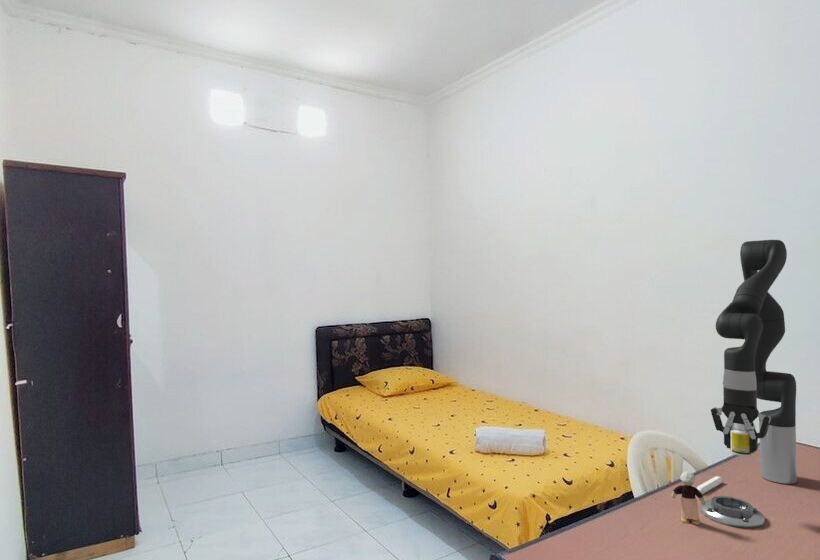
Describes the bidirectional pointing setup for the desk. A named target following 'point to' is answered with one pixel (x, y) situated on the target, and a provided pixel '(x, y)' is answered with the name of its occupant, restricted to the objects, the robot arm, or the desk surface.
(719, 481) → the white pencil
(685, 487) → the grandmother figurine
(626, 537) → the desk surface
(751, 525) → the hub plate
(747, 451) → the supplement bottle
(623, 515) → the desk surface
